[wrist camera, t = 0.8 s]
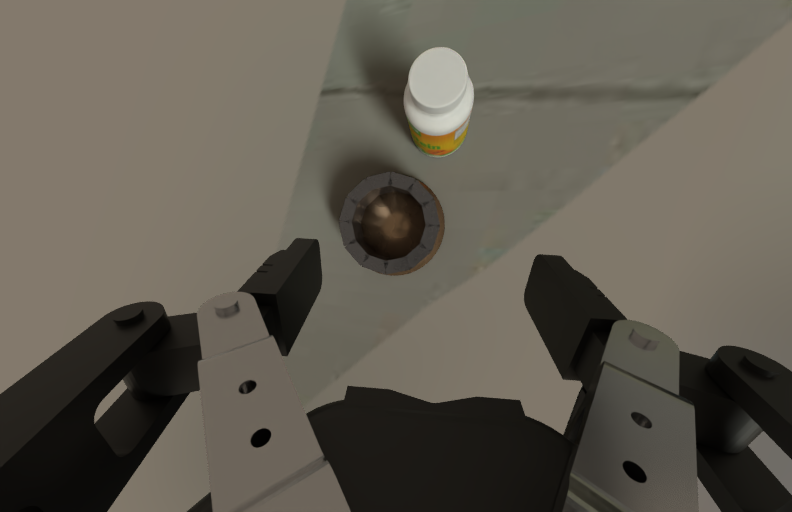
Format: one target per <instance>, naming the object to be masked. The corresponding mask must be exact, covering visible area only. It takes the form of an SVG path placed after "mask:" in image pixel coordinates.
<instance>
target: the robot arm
mask: <svg viewBox="0 0 792 512" xmlns="http://www.w3.org/2000/svg"><path fill="white" fill-rule="evenodd" d="M321 285H322V269H321V258H320V247H319V242H318V240H317V239H302V238H296V239H295V240H294V241H293V242H292V244H291V245H290V246H289V247H288V248H287V249H286V250H281V251H279V252H277V253H275V254H273V255H271V256H270V257H269V258H268V259H267V260H266V261H265V262H264V263H263V266H260V267H259V268H258V270H257V272H255V273H254V274H253V275H252V276H251V277H250V278H249V279H248V280H247V282H246V283H245V284H244V285H243V286H242V287H241V288H240V289H239V290H238V291H237V292H230V293H224V294H221V295H218V296H215V297H213V298H211V299H209V300H208V301H206V302H205V303H204V304H203V305H201V306H200V308H199V309H198V311H197V313H192V314H184V315H176V316H170V317H168V316H167V314H166V312H165V309H164V307H163V305H161V304H160V303H157V302H139V303H134V304H130V305H127V306H124V307H121V308H118V309H116V310H114V311H112V312H110V313H108V314H107V315H105V316H104V317H102V318H101V319H100V320H98V321H97V322H96V323H94V324H93V325H92V326H90V327H89V328H88V329H86V330H85V331H84V332H82V333H81V334H80V335H78V336H77V337H76V338H74V339H73V340H72V341H70V342H69V343H68V344H66V345H65V346H64V347H62V348H61V349H60V350H59V351H57V352H56V353H54V354H53V355H52V356H50V357H49V358H48V359H47V360H45V361H44V362H43V363H41V364H40V365H39V366H37V367H36V368H35V369H33V370H32V371H31V372H29V373H28V374H27V375H25V376H24V377H23V378H21V379H20V380H19V381H17V382H16V383H15V384H14V385H12V386H11V387H9V388H8V389H7V390H5V391H4V392H3V393H1V394H0V512H107V511H108V510H109V508H110V507H111V505H112V504H113V503H114V501H115V500H116V498H117V497H118V495H119V494H120V492H121V491H122V489H123V488H124V487H125V485H126V484H127V482H128V481H129V480H130V478H131V477H132V475H133V474H134V472H135V471H136V469H137V468H138V466H139V465H140V464H141V462H142V461H143V459H144V458H145V457H146V455H147V454H148V452H149V451H150V449H151V448H152V446H153V445H154V444H155V442H156V441H157V439H158V438H159V436H160V435H161V434H162V432H163V431H164V429H165V428H166V426H167V425H168V424H169V422H170V421H171V419H172V418H173V416H174V415H175V413H176V412H177V411H178V409H179V408H180V406H181V405H182V403H183V402H184V401H185V399H186V397H187V396H188V395H189V393H190V392H194V391H199V390H200V392H201V403H202V413H203V422H204V432H205V440H206V451H207V460H208V470H209V480H210V489H211V492H210V493H209V494H207V495H206V496H205V497H204V498H203V499H201V500H200V501H199V502H198V503H196V504H195V505H194V506H193V507H192V508H191V509H189V510H188V511H187V512H699V511H698V487H697V477H698V478H699V479H700V481H701V482H702V484H703V485H704V487H705V488H706V490H707V491H708V493H709V494H710V496H711V497H712V498H713V500H714V501H715V503H716V504H717V506H718V507H719V509H720V510H721V512H792V495H791V494H790V493H789V492H788V491H787V489H786V488H785V487H784V486H783V485H782V484H781V483H780V482H779V481H778V479H777V478H776V477H775V476H774V475H773V474H772V472H771V471H770V470H769V469H768V468H767V467H766V466H765V465H764V464H763V462H762V461H761V460H760V459H759V458H758V457H757V456H756V454H755V453H754V452H753V451H752V450H751V449H750V448H749V447H748V445H749V444H750V443H751V442H752V441H753V440H754V439H755V438H756V437H757V436H758V435H759V434H760V433H761V432H763V431H764V432H766V434H767V435H768V436H769V437H770V438H771V439H772V440H773V441H774V442H775V443H776V444H777V445H778V446H779V447H780V448H781V449H782V450H783V451H784V452H785V453H786V454H787V455H788V456H789V457H790V458H791V459H792V372H791V371H790V370H789V369H787V368H785V367H784V366H783V365H781V364H779V363H778V362H776V361H774V360H772V359H770V358H768V357H766V356H764V355H762V354H759V353H757V352H754V351H751V350H748V349H745V348H741V347H736V346H722V347H720V348H719V349H718V350H717V351H716V353H715V354H714V355H713V356H712V358H711V359H708V358H704V357H701V356H697V355H693V354H689V353H685V352H682V351H679V348H678V346H677V345H676V343H675V342H674V341H673V340H672V339H671V338H670V337H668V336H667V335H666V334H664V333H663V332H661V331H659V330H658V329H656V328H654V327H651V326H649V325H647V324H644V323H641V322H637V321H632V320H627V319H626V317H625V316H624V315H623V314H622V313H621V312H620V311H619V310H618V309H617V308H616V307H615V306H614V305H613V304H612V303H611V301H610V300H608V298H607V297H605V295H604V294H603V293H602V292H601V291H600V290H598V289H597V287H596V286H595V285H594V283H593V282H592V281H591V280H590V279H589V278H587V277H586V276H584V275H582V274H581V273H579V272H578V271H576V270H574V269H573V268H572V267H571V266H570V265H569V264H568V263H567V262H566V260H565V259H564V258H563V257H562V256H556V255H541V254H540V255H537V256H536V257H535V259H534V262H533V265H532V268H531V272H530V275H529V278H528V282H527V286H526V289H525V293H524V302H525V306H526V308H527V310H528V312H529V314H530V316H531V318H532V320H533V322H534V324H535V326H536V328H537V330H538V331H539V333H540V336H541V337H542V339H543V341H544V343H545V345H546V347H547V349H548V351H549V353H550V355H551V357H552V359H553V361H554V363H555V364H556V366H557V369H558V371H559V373H560V374H561V376H562V378H563V379H565V380H577V381H581V383H582V384H583V385H582V387H581V390H580V391H579V394H578V396H577V399H576V402H575V404H574V407H573V410H572V413H571V415H570V418H569V421H568V423H567V426H566V429H565V432H564V434H563V435H562V434H560V433H559V432H557V431H556V430H554V429H553V428H551V427H549V426H547V425H545V424H543V423H542V422H539V421H537V420H534V419H532V418H530V417H527V416H525V414H524V411H523V408H522V405H521V402H520V400H510V399H498V398H486V397H472V398H466V399H460V400H454V401H448V402H441V403H430V402H426V401H423V400H420V399H417V398H414V397H411V396H408V395H405V394H402V393H399V392H396V391H393V390H389V389H378V388H377V389H376V388H366V387H353V386H348V387H347V391H346V395H345V399H344V400H341V401H336V402H332V403H329V404H326V405H323V406H321V407H318V408H316V409H314V410H312V411H310V412H308V413H307V414H306V413H305V410H304V408H303V405H302V403H301V401H300V398H299V396H298V394H297V391H296V389H295V386H294V384H293V382H292V379H291V377H290V374H289V372H288V370H287V367H286V365H285V362H284V360H283V358H282V356H288V354H289V352H290V350H291V348H292V346H293V344H294V342H295V340H296V338H297V336H298V334H299V332H300V330H301V328H302V326H303V324H304V322H305V320H306V318H307V316H308V314H309V312H310V310H311V308H312V306H313V304H314V302H315V300H316V298H317V296H318V294H319V292H320V289H321ZM122 379H123V380H124V383H125V384H126V386H127V389H126V390H125V391H124V393H123V394H122V395H121V396H120V397H119V398H118V399H117V400H116V401H115V402H114V403H113V405H112V406H111V407H110V408H109V409H108V410H107V411H106V412H105V413H104V414H103V415H102V417H100V419H99V420H98V421H97V422H96V423H95V424H94V415H95V412H96V409H97V407H98V405H99V404H100V402H101V401H102V400H103V399H104V398H105V397H106V396H107V395H108V393H109V392H110V391H111V390H112V389H113V388H114V387H115V386H116V385H117V384H118V383H119V382H120V381H121V380H122Z"/></svg>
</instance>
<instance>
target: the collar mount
mask: <svg viewBox="0 0 792 512" xmlns="http://www.w3.org/2000/svg"><path fill="white" fill-rule="evenodd" d="M366 179H367V180H366ZM366 179H363V180H362V181H361V182H360V183H359V184H358V185H357V186H356V187H355V188H354V189H353V190H352V191H351V192H350V193H349V194H348V195H347V196H348V197H349V198H347V197H346V198H345V202H344V205H343V208H342V212H341V215H340V218H339V220H340V221H342V222H339V225H340V230H341V235H342V239H343V244H344V246H346V247H345V248H346V250H347V251H348V252H349V253H350V254H351V255H352V256H353V258H354V259H355V260H356V261H357V262H358V263H359V264H360V265H362V267H365V268H368V269H370V270H373V271H375V272H378V273H381V274H385V275H404V274H408V273H411V272H414V271H416V270H418V269H420V268H421V267H423V266H424V265H425V264H427V263H428V262H429V261H430V260H431V259H432V258H433V256H434V255H435V254H436V252H437V250H438V249H439V247H440V244H441V242H442V239H443V235H444V214H443V210H442V207H441V205H440V202H439V200H438V199H437V197H436V195H435V194H434V193H433V192H432V190H431V189H430V188H428V187H427V186H426V185H425V184H424V183H422V182H421V181H419V180H417V179H415V178H412V177H410V176H405V175H402V174H399V173H395V172H391V173H390V171H389V172H386V173H382V174H378V175H374V176H370V177H366Z"/></svg>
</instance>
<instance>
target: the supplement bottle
mask: <svg viewBox="0 0 792 512" xmlns="http://www.w3.org/2000/svg"><path fill="white" fill-rule="evenodd" d="M473 100H474V89H473V85H472V82H471V79H470V77H469V76H468V72H467V67H466V64H465V62H464V60H463V59H462V57H461V56H460V55H459V54H458V53H457V52H455V51H454V50H452V49H449V48H446V47H436V48H431V49H429V50H427V51H425V52H423V53H422V54H421V55H419V56H418V57H417V59H416V60H415V61H414V62H413V64H412V66H411V69H410V72H409V76H408V83H407V85H406V88H405V92H404V109H405V113H406V117H407V120H408V124H409V127H410V131H411V135H412V138H413V141H414V143H415V145H416V146H417V148H418V149H419V150H420V151H421V152H423V153H424V154H426V155H428V156H431V157H444V156H447V155H450V154H451V153H453V152H454V151H456V150H457V149H458V148H459V147H460V145H461V144H462V143H463V141H464V139H465V136H466V133H467V129H468V124H469V120H470V115H471V111H472V106H473Z"/></svg>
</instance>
